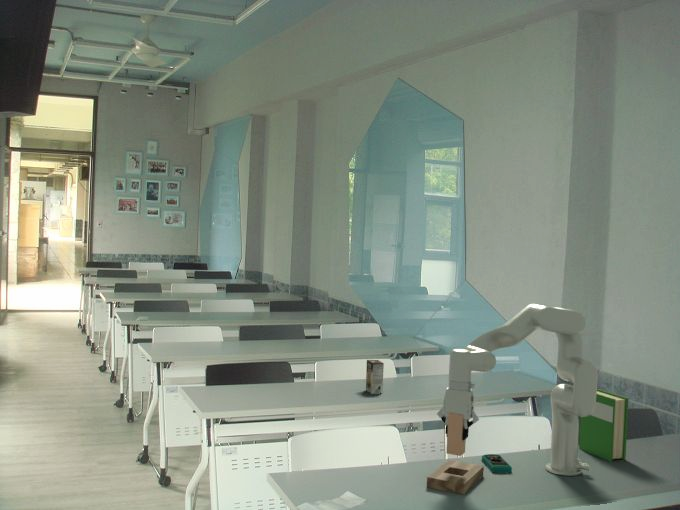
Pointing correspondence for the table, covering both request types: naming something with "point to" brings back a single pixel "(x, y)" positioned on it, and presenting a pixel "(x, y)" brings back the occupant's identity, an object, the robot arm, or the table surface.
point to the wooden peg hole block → (455, 477)
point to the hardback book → (606, 427)
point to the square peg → (455, 435)
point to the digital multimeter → (496, 463)
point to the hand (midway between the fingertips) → (456, 437)
